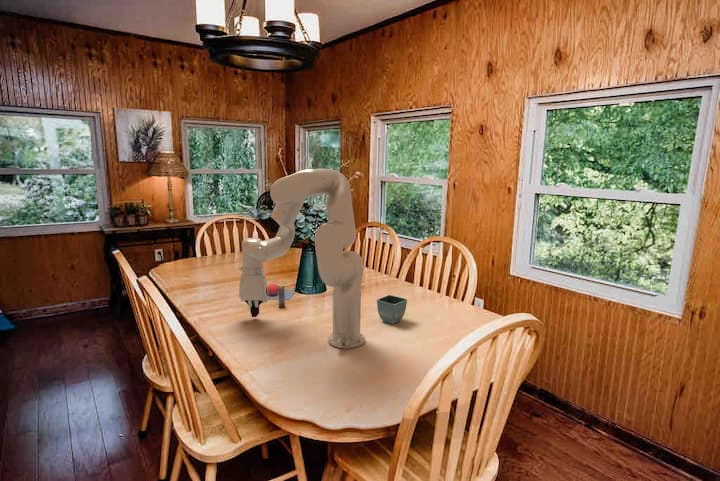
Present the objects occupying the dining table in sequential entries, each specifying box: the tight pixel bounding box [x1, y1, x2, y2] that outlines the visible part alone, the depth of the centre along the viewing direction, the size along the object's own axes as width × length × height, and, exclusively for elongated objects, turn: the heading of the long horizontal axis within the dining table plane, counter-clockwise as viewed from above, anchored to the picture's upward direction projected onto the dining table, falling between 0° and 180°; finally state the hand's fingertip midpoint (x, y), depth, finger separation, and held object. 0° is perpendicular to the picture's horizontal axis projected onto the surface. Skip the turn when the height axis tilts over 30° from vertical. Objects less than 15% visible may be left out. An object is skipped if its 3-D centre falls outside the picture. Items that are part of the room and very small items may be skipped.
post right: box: [278, 285, 286, 309], centre depth 174 cm, size 3×3×9 cm
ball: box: [267, 283, 279, 296], centre depth 189 cm, size 6×6×6 cm
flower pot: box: [376, 294, 408, 325], centre depth 160 cm, size 9×9×9 cm
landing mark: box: [267, 288, 296, 301], centre depth 191 cm, size 14×14×1 cm
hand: (255, 315), depth 161 cm, fingers closed
